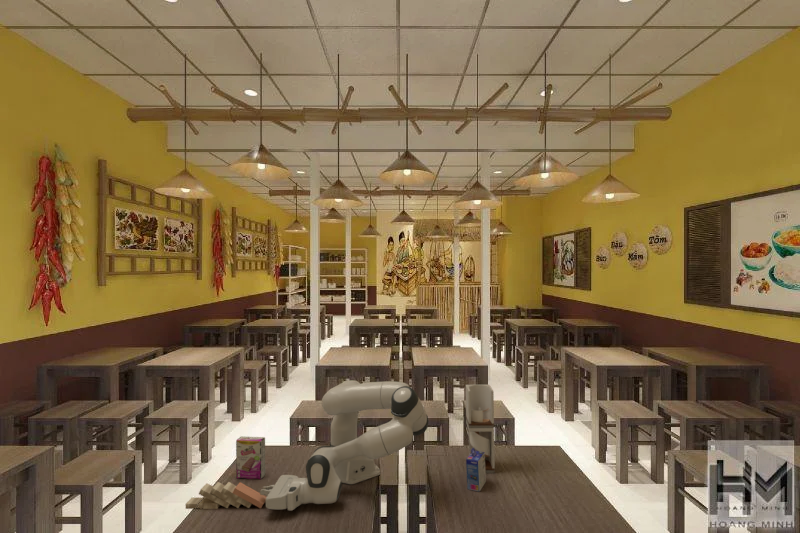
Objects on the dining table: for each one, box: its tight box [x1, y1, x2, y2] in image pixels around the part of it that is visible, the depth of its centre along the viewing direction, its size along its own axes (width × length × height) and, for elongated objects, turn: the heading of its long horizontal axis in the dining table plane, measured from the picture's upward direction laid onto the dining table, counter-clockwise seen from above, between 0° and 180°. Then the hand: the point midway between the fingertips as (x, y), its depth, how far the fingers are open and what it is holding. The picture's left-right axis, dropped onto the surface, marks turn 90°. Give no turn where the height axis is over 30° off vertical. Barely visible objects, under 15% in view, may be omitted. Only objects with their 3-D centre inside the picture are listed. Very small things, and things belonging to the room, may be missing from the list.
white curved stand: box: [465, 384, 496, 474], centre depth 209 cm, size 11×11×35 cm
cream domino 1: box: [185, 497, 221, 510], centre depth 179 cm, size 2×5×12 cm
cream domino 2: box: [198, 482, 231, 509], centre depth 179 cm, size 2×5×12 cm
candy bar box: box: [235, 435, 266, 480], centre depth 203 cm, size 11×5×16 cm, turn 84°
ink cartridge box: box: [465, 448, 487, 492], centre depth 192 cm, size 10×6×14 cm, turn 155°
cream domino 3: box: [210, 481, 242, 509], centre depth 179 cm, size 2×5×12 cm
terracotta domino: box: [233, 482, 267, 509], centre depth 179 cm, size 2×5×12 cm
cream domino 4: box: [221, 481, 253, 509], centre depth 179 cm, size 2×5×12 cm
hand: (261, 490), depth 178 cm, fingers closed
